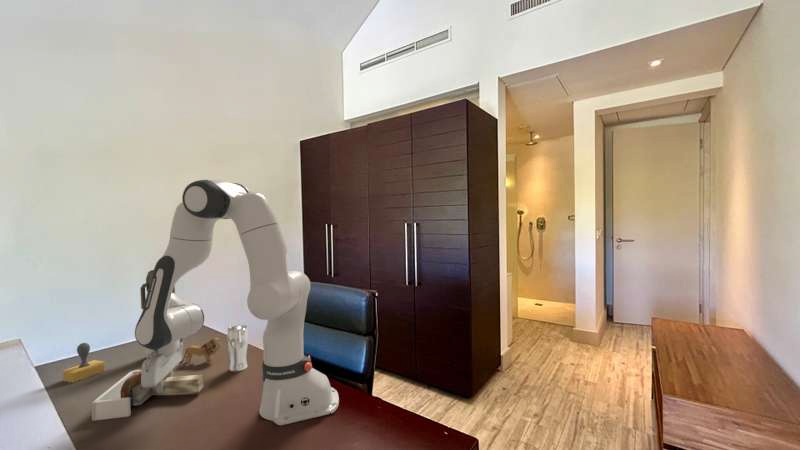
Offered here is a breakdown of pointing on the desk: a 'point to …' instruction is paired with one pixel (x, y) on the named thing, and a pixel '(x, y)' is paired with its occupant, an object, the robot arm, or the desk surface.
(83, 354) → the rubber stamp
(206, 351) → the lion figurine
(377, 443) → the desk surface
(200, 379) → the scraper
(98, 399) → the box
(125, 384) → the tin
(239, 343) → the beer glass
